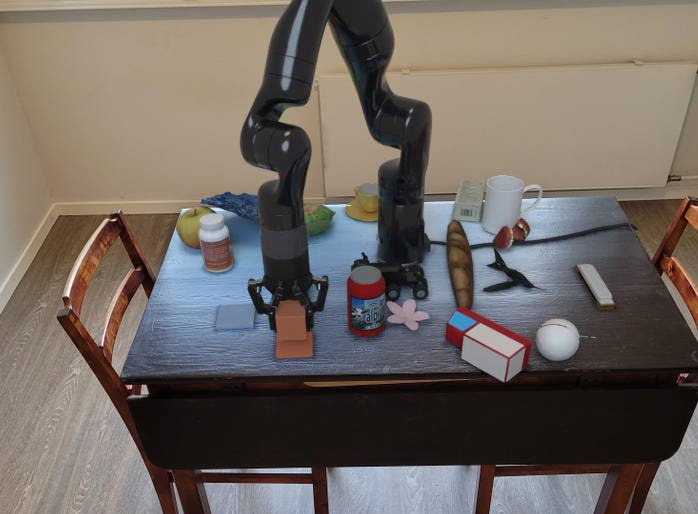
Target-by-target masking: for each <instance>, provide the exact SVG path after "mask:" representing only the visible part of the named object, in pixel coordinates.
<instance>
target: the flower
mask: <svg viewBox="0 0 698 514" xmlns="http://www.w3.org/2000/svg"><path fill="white" fill-rule="evenodd" d="M385 305H386V306H387V308H388V309H389V311H390V312H391V313H392V314H391V315H390V316H388V317H387V319H386V321H388V322H389V323H391V324H404V325H405V326H406V327H407V328H408V329H410V330H411V331H417V330H418V329H419V323H418V321H420V322H421V321H424V320H428V319H430V318H431V316H430V314H429V313H428V312H426V311H420V310H419V311H416V307H417V304H416V300H415V299H411V298H408V299H406V300H405V301H404V302H403V303H402V307H401V305H399V304H398V303H396V302H393V301H391V300H387V302H385Z"/></svg>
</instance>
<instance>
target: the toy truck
mask: <svg viewBox="0 0 698 514" xmlns="http://www.w3.org/2000/svg"><path fill="white" fill-rule="evenodd" d="M444 339H445V341H446V342H447V343H450V344H451V345H453V346H455V347H457V348H459V349H461V354H460V359H462V360H463V361H465V362H467V363H469V364H471V365H472V366H474V367H476V368H478V369H479V370H481V371H483V372H484V373H487V374H488V375H489V376H491V377H494V378H495V379H497V380H499V381H500V382H503V383H507V382H509V381H510V380H511V379H512V378H514V377H515V376H516V375H518V374H519V373H520V372H522V371H523V370H524V369H525V368H526V367H528V364H529V358H530V354H531V349H532V343H533V342H532V340H530V339H528V338H526V337H524V336H522V335H520V334H519V333H516V332H514V331H512V330H510V329H508V328H507V327H504V326H503V325H502V324H499V323H496V322H494V321H493V320H491V319H489V318H487V317H485V316H483V315H481V314H480V313H479V314H478V313H477V312H475V311H473V310H472V309H471V310H469V309H467V308H465V307H463V306H461V307H459V308H458V307H457V308H456V309H455V310H454V311H453V312H452V314H451V316H450V317H449V319H448V321H447V322H446V324H445V337H444Z"/></svg>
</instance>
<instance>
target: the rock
mask: <svg viewBox="0 0 698 514" xmlns="http://www.w3.org/2000/svg"><path fill="white" fill-rule="evenodd" d="M200 205H208V206H211V207H215V208H218V209H221V210H223V211H226V212H228V213H233V214H235V215H237V217H238V218H241V219H244V220H250V221H257V220H260V218H259V210H258V199H257V194H249V193H247V192H242V193H241V194H235V193H232V191H225V192H224V193H220V194H215V195H214V196H211V197H206V198H205V199H204V198H202V199H201V201H200Z"/></svg>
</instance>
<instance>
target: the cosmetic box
mask: <svg viewBox="0 0 698 514" xmlns="http://www.w3.org/2000/svg"><path fill="white" fill-rule="evenodd" d="M486 185H487V181H480V180H471V179H459V184H458V187H457V191H456V195H455V198H454V202H453V213H452V220H457V221H464V222H477V223H479V222H481V215H482V209H483V206H484V201H485V194H486Z"/></svg>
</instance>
